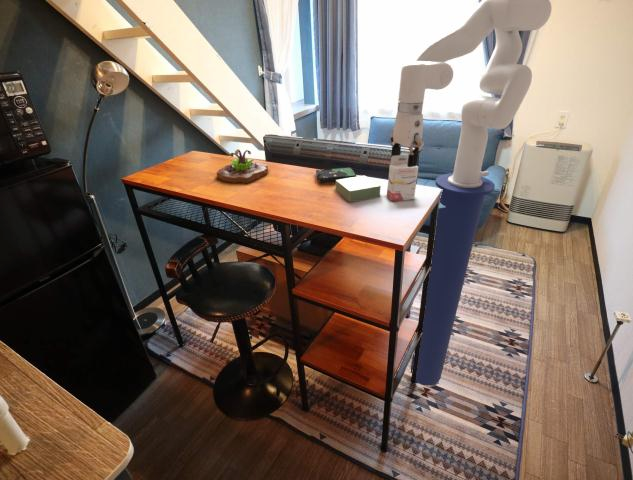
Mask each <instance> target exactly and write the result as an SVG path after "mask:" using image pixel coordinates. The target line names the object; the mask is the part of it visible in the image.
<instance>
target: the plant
mask: <svg viewBox="0 0 633 480" xmlns="http://www.w3.org/2000/svg"><path fill="white" fill-rule="evenodd" d="M246 153H247V154H248V155H251V154H252V152H251V151H250V150H248V149H245V151H244V152H243V154H242V152H241V150H240V149H235V151H234V152H231V153H230V154H229V156H230V157H234V156H236V158H235V159H230V160H229V161H230V162H231V163H230V164H227V165H224V166H222V167H221V168H219V169H218V170H217V172H216V177H217V179H220V180H221V181H222V182H226V183H232V184H237V183H242V184H249V183H252V182H254V181H256V180H258V179H260V178H261V177H265V176H266V175H267V174H268V172H269V171H268V170H269V169H268V168H269V167H268V165H267V164H266V163H260V162H257V161H254V159H251V160H249V158H248V157H246Z"/></svg>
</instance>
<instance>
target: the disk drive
mask: <svg viewBox="0 0 633 480" xmlns="http://www.w3.org/2000/svg"><path fill="white" fill-rule="evenodd" d="M315 175H316V178H317V181H318V182H319V184H321V185H324V184H326V185H327V184H336V180H339V179H345V178H351V177H357V174H356V173H355V171H354V169H352V167H338V168H337V167H336V168H324V169H323V168H322V169H316V170H315Z"/></svg>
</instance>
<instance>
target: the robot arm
mask: <svg viewBox="0 0 633 480" xmlns="http://www.w3.org/2000/svg"><path fill="white" fill-rule="evenodd" d="M551 14H552V3H551V1H550V0H481V1H480V2H479V3H478V4H477V5H476V7H474V9H473V10H472V11H470V13H469V14H468V15H467V16H466V17H465V18H464V19H463V21H462V22H460V24H459V25H458V26H457V27H456V29H454V30H453V31H451V32H449V33H447V34H446V35H445V36H442V37H441V38H440V39H438V40H437V41H435V42H433V43H431V44H430V45H429V46H428V47H426V48H425V49H424V50H422V52H421V53H420V54H419V55H418V57H417V58H416V59H415V60H414V61H413V62H408V63H404V64H403V65H402V67H401V71H400V81H399V91H398V100H397V109H396V116H395V120H394V125H393V130H391V131H389V132H390V142H391V145H390V146H391V154H390V155H391V156H390V158H391V157H392V156H398V155H401V150H402V146H403V147H406V148H408V151H409V153H410V154H408V155H409V157H408V165H407V166H408V167H414V166H418V159H419V155H420V154H421V152H422V150H423V147H424V146H425V142H424V140H423V133H424V114H423V108H424V100H425V93H426V90H427V89H428V90H443V89H445V88H447V87H448V86H449V85H450V84H451V83H452V81H453V79H454V69H453V67H452V66H451V64H449V63H447V62H448V61H451V60H454V59H457V58H460V57H464V56H466V55H468V54H471V53H472V52H474V51H475V50H476V49H477V48H478V47H479V46H480V45H481V43H483V41H484V40H485V39H486V38H487V37H488V36H489V35H490V34H491V33H492V31H493V30H494V32H495V33H494V34H495V45H494V49H493V51H492V54H491V56H490V58H489V60H488V62H487V64H486V67H485V69H484V71H483V73H482V75H481V78H480V81H479V88H480V91H482V92H483V93H486V94H490V95H491V94H492V95H498V96H501V97H494V96H488V95H473V96H470V97H469V98H467V99H466V100H465V102H464V103H463V105H462V108H461V114H460V115H461V116H460V117H461V124H460V125H461V128H460V135H459V140H458V147H457V151H456V158H455V162H454V167H453V172H452V173H453V175H452V176H450V177H449V178H448V182H449V183H450V184H451V185H454V186H457V187H461V188H477V187H480V186H481V185H482V180H481V177H487V176H489V175H490V172H489V170H484V171H482V167H483V163H484V159H485V154H486V149H487V144H488V141H489V140H488V139H489V133H488V132H489V131H488V129H494V130H503V129H506V128H507V127H509V125H510V124H511V123H512V121H513V120H514V118H515V117H516V115H517V112H518V111H519V109H520V107H521V105H522V103H523V100H524V99H525V97H526V95H527V94H528V91H529V89H530V87H531V85H532V79H533V72H532V69H531V68H530V67H529V66H528V65H526V64H519V63H518V62H519V60H520V57H521V55H522V54H523V53H522V52H523V42H522V38H521V36H520V32H523V31H527V32H528V31H537V30H539V29H541V28H543V27H544V26H545V25H546V23H547V22H548V21H549V19H550V17H551Z"/></svg>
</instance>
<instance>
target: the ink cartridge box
mask: <svg viewBox="0 0 633 480" xmlns="http://www.w3.org/2000/svg"><path fill="white" fill-rule="evenodd" d="M408 157H409V154H400V155H398V156H392V157H391V156H390V164H389V170H388V180H387V189H386V197H387V198H388V199H389V200H390V201H391V202H395V201H396V202H397V201H409V200H414V199H415V194H416V189H417V183H418V182H417V181H418V175H419V166H418V165H417V166H414V167H408V166H407V165H408Z"/></svg>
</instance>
